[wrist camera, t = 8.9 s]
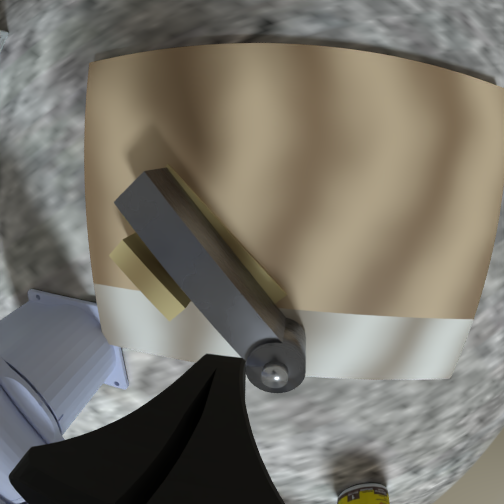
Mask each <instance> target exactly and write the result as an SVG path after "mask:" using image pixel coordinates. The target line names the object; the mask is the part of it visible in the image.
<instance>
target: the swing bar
mask: <svg viewBox="0 0 504 504" xmlns="http://www.w3.org/2000/svg"><path fill="white" fill-rule="evenodd" d="M114 204H115V205H116V206H117V208H118V209H119V211H120V212H121V213H122V215H123V216H124V217H125V219H126V220H127V221H128V223H129V224H130V225H131V226H132V228H133V229H134V230H135V232H136V233H137V234H138V236H139V237H140V238H141V240H142V241H143V242H144V243H145V245H146V246H147V247H148V248H149V250H150V251H151V252H152V254H153V255H154V256H155V257H156V259H157V260H158V261H159V262H160V264H161V265H162V266H163V267H164V269H165V270H166V271H167V272H168V273H169V275H170V276H171V277H172V278H173V280H174V281H175V282H176V283H177V284H178V286H179V287H180V288H181V289H182V290H183V292H184V293H185V294H186V295H187V296H188V298H189V299H190V300H191V301H192V302H193V303H194V305H195V306H196V307H197V308H198V309H199V311H200V312H201V313H202V314H203V315H204V316H205V317H206V319H207V320H208V321H209V322H210V323H211V324H212V325H213V327H214V328H215V329H216V330H217V331H218V332H219V333H220V335H221V336H222V337H223V338H224V339H225V340H226V341H227V342H228V343H229V345H230V346H231V347H232V348H233V349H234V350H235V351H236V352H237V353H238V354H239V356H240V357H241V358H243V359H244V360H245V361H246V375H247V377H248V379H249V380H250V382H251V383H252V384H253V385H254V386H256V387H257V388H259V389H261V390H263V391H266V392H271V393H283V392H288V391H290V390H293V389H295V388H296V387H298V386H299V385H300V384H301V383H302V381H303V380H304V377H305V374H306V334H305V332H304V329H303V328H302V327H301V325H300V324H298V323H297V322H296V321H294V320H292V319H290V318H286V317H285V316H284V314H283V313H282V312H281V311H280V309H279V308H278V307H277V306H276V305H275V303H274V302H273V301H272V300H271V298H270V297H269V296H268V295H267V293H266V292H265V291H264V290H263V288H262V287H261V286H260V285H259V283H258V282H257V281H256V280H255V278H254V277H253V276H252V275H251V273H250V272H249V271H248V270H247V268H246V267H245V266H244V265H243V263H242V262H241V261H240V260H239V258H238V257H237V256H236V255H235V253H234V252H233V251H232V250H231V248H230V247H229V246H228V245H227V243H226V242H225V241H224V240H223V238H222V237H221V236H220V234H219V233H218V232H217V231H216V229H215V228H214V227H213V226H212V224H211V223H210V222H209V221H208V219H207V218H206V217H205V215H204V214H203V213H202V212H201V210H200V209H199V208H198V207H197V205H196V204H195V203H194V201H193V200H192V199H191V198H190V196H189V195H188V194H187V193H186V191H185V190H184V189H183V187H182V186H181V185H180V184H179V182H178V181H177V180H176V178H175V177H174V176H173V175H172V173H171V172H170V171H169V169H168V168H167V167H166V168H160V169H154V170H148V171H144V172H143V173H142V174H141V175H140V176H139V177H138V178H137V179H136V180H135V181H134V182H133V183H132V184H131V185H130V186H129V187H128V188H127V189H126V190H125V191H124V192H123V193H122V194H121V195H120V196H119V197H118V198H117V199H116V200H115V201H114Z"/></svg>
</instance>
